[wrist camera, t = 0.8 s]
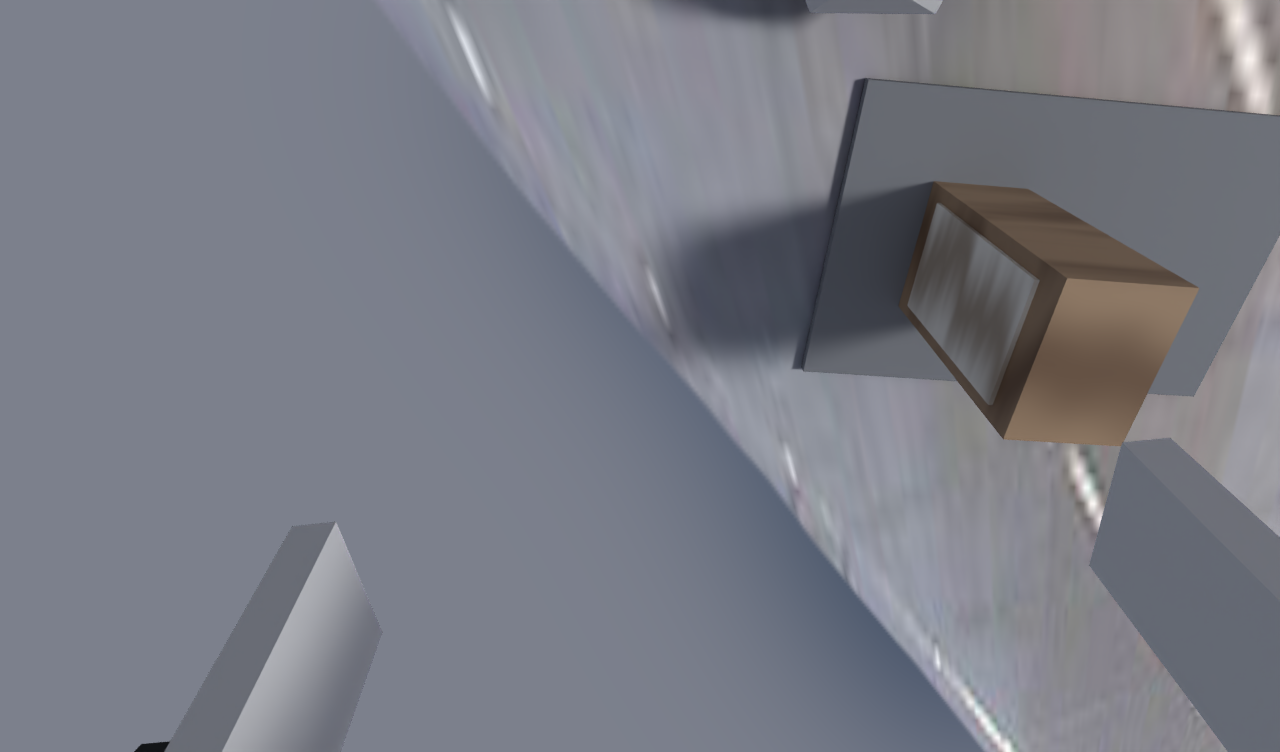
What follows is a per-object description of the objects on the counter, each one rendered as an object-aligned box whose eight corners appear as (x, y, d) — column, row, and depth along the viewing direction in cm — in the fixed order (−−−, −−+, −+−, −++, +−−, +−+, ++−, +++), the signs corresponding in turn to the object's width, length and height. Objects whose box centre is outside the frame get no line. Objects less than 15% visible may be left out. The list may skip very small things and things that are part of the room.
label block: (929, 180, 38) (1061, 277, 27) (1027, 188, 38) (1199, 288, 27) (894, 305, 41) (998, 439, 30) (985, 312, 42) (1121, 446, 30)
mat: (865, 78, 36) (868, 79, 35) (1331, 120, 37) (1339, 122, 37) (801, 367, 44) (803, 371, 43) (1188, 392, 45) (1193, 396, 45)
